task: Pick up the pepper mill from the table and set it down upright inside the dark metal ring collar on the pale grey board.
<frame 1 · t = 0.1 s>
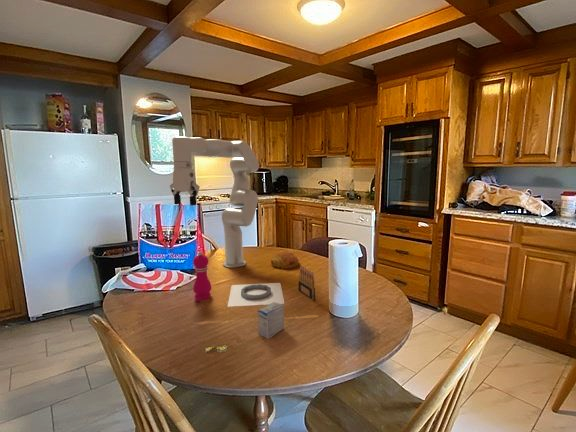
hand: (185, 204, 141), 37 cm above the table, tool pointing down, fingers open, 9 cm apart
ammunition clip: (306, 296, 132), on the table
brown rounded lump: (285, 265, 173), on the table
pepper mill: (203, 298, 131), on the table
medicine box: (271, 332, 104), on the table
ring collar: (256, 293, 133), resting on seat board
seat board: (256, 295, 133), on the table
bearing assembly: (216, 351, 95), on the table
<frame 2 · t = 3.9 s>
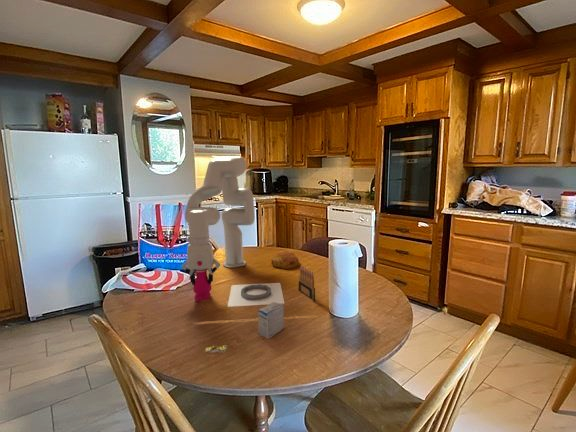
hand: (202, 283, 130), 7 cm above the table, tool pointing down, fingers closed on pepper mill, 6 cm apart
pepper mill: (203, 298, 131), on the table, touching gripper
everything else where it was.
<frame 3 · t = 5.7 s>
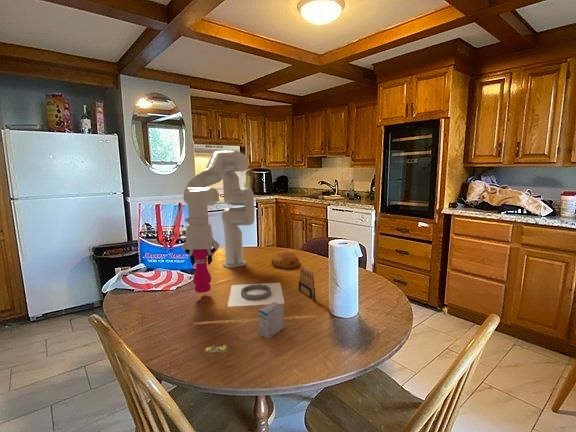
hand: (201, 263, 129), 15 cm above the table, tool pointing down, fingers closed on pepper mill, 5 cm apart
pepper mill: (202, 290, 131), point 3 cm above the table, touching gripper
everything else where it was.
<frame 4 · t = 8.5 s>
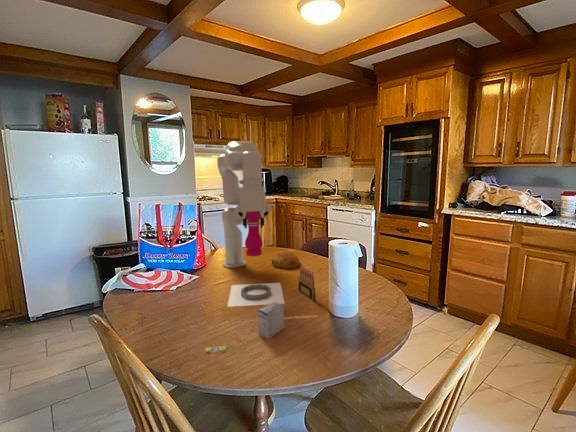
hand: (253, 227, 128), 29 cm above the table, tool pointing down, fingers closed on pepper mill, 5 cm apart
pepper mill: (254, 254, 129), point 18 cm above the table, touching gripper
everything else where it was.
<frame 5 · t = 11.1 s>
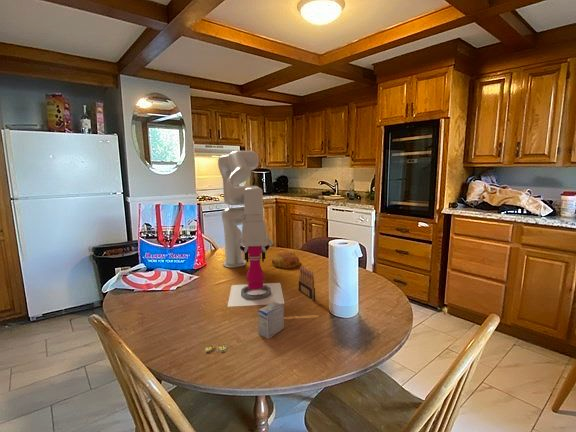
hand: (255, 260, 130), 15 cm above the table, tool pointing down, fingers closed on pepper mill, 5 cm apart
pepper mill: (255, 287, 131), point 4 cm above the table, touching gripper
everything else where it was.
when the fingers open (9 cm above the table, at t = 13.4 s): pepper mill stays where it is, resting on seat board.
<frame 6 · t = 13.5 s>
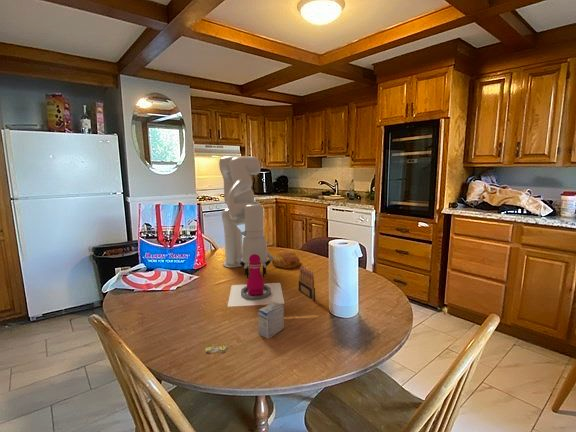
hand: (255, 276, 132), 9 cm above the table, tool pointing down, fingers open, 6 cm apart
pepper mill: (255, 294, 132), point 1 cm above the table, touching seat board
everything else where it was.
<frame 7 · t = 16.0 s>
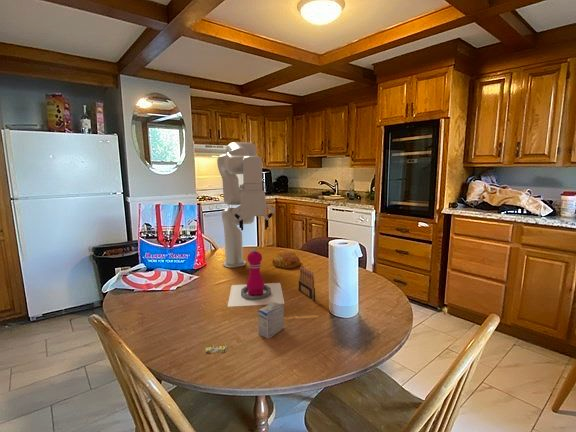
hand: (254, 229, 129), 28 cm above the table, tool pointing down, fingers open, 9 cm apart
nothing on the table moved.
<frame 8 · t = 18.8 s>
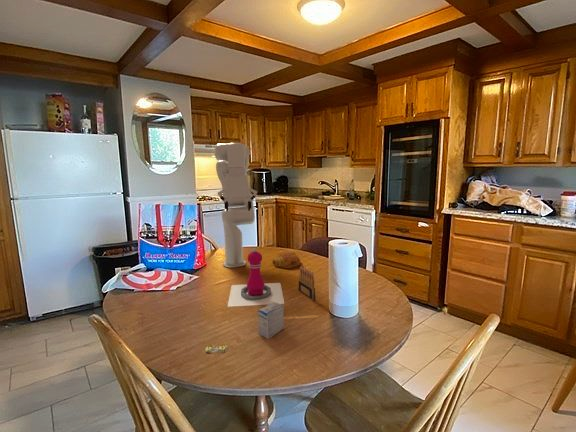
hand: (238, 210, 140), 34 cm above the table, tool pointing down, fingers open, 9 cm apart
at the end: pepper mill 0.9 cm off-centre on the ring collar, point 0.0 cm above the ring collar's base; pepper mill tilted 0°; the gripper is holding nothing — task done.
